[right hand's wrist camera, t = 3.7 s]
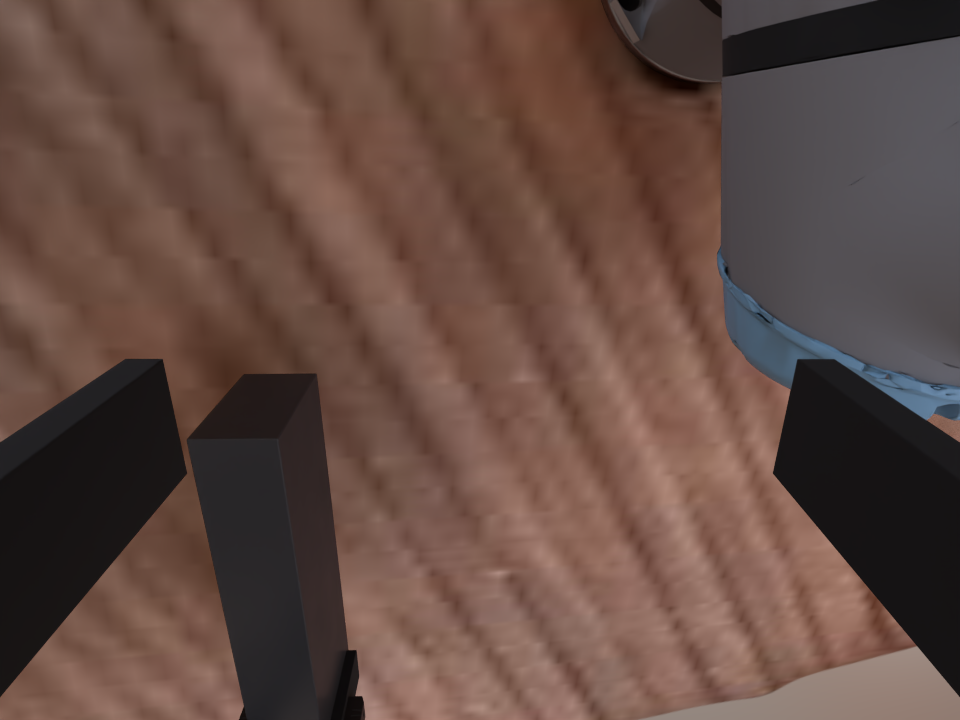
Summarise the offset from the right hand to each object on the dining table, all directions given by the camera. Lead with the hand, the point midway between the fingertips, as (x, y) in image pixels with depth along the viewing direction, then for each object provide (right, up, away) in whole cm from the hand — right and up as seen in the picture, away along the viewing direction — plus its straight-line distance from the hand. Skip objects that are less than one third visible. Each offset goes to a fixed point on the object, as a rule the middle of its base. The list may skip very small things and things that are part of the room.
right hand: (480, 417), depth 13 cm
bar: (-12, -13, +30) cm, 35 cm away
